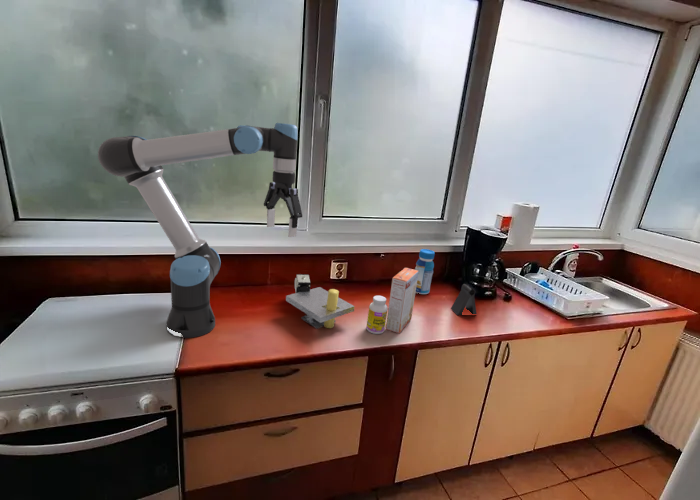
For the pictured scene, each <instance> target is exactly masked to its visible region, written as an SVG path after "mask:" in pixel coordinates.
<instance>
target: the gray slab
mask: <svg viewBox="0 0 700 500" xmlns="http://www.w3.org/2000/svg"><path fill="white" fill-rule="evenodd" d="M328 292H329V290H326V289H324V288H323V287H321V286H319V287H315V288H312V289H311V288H310V291H302V292H299V293H296V292H295V293H291V294H288V295H285V301H286V302H287V303H289V304H291V305H292V306H293V307H295V308H296V309H298V310H299V311H301V312H303V313H304V314H305V315H304V316H301V317H300V318H301V320H303V321H304V322H306V323H307V324H308V325H310V326H311V327H312V328H314V329H316V330H318V329H320V328H323V327H325V326H324V321H327V320H330V319H333V318H335V321H334V324H335V323H336V318H339V317H342V316H344V315H347V314H349V313H353V312H355V305H353V304H352V303H349V302H348V301H346V300H344V299H342V298H340V297H339V296H338V301H337V308H336V310H333V311H328V310H327V309H326V306H327V299H328Z"/></svg>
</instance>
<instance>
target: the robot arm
mask: <svg viewBox="0 0 700 500" xmlns="http://www.w3.org/2000/svg"><path fill="white" fill-rule="evenodd" d="M298 130H299V129H298V127H297V125H295V124H291V123H284V122H283V123H282V122H276V123H275V124H274V128H272V127H270V128H269V127H262V126H256V125H255V126H253V125H248V124H246V125H238V126H237V127H236V128H235V127H234V128H225V129H218V130H212V131H211V130H210V131H205V132H197V133H190V134H189V133H188V134H183V135H180V134H179V135H175V136H173V135H172V136H167V137H159V138H151V139H147V138H145V137H142V136H138V135H127V136H114V137H110V138H107V139H106V140H104V141H102V143H101V144H100V145H99V147H98V151H97V157H98V158H97V159H98V162H99V163H100V165H101V167H102V168H103V169H104V170H105V171H106V172H108V173H109V174H110V175H113V176H117V177H123V178H124V179H125V181H126V182H127V184H128V185H129V186H133V187H135V188H136V189H137V190H138V192H139V193H140V195H141V196H142V199H143V200H144V201H145V203H146V205H147V206H148V208H149V209H150V211H151V212H152V214H153V216H154V218H155V219H156V221H157V222H158V224H159V225H160V227H161V229H162V230H163V231H164V233H165V235H166V236H167V239H168V240H169V242H170V243H171V245H172V246H173V248H174V249H175V254H174V259H175V260H173V261H172V262H171V265H170V270H169V278H170V295H171V296H170V297H171V298H170V299H171V301H170V302H171V309H170V310H169V313H168V317H167V319H166V324H167V325H166V324H165V325H166V328H167V327H168V328H169V329H171V330H173V331H175V332H178V333H181V334H182V335H183V337H184V338H185V339H187V338H188V339H190V338H191V339H192V338H197V337H202V336H204V335H208V334H209V333H210V332H211V331H213V330H214V329H215V326H216V316H215V315H214V312H213V309H212V307H211V303H210V302H211V301H210V298H211V296H210V293H211V292H210V288H211V284H212V282H213V281H214V279H215V277H216V276H217V275H218V274H219V272H220V268H221V263H222V262H221V258H220V255H219V253H218V252H217V250H215V248H213V247H210V246H209V244H208V242H207V241H206V240H205V239H202V238H200V237H199V236H198V234H197V233H196V231H195V229H194V228H193V226H192V224H191V223H190V221H189V219H188V218H187V215H185V213H184V211H183V209H182V208H181V205H180V204H179V202H178V200H177V199H176V197H175V196H174V193H173V192H172V191H171V189H170V187H169V185H168V184H167V182H166V181H165V179H164V177H163V173H164V167H163V166H166V165H174V164H179V163H180V164H181V163H189V162H194V161H202V160H208V159H215V158H224V157H230V156H239V155H245V154H247V155H252V154H255V153H257V152H259V151H260V152H269V153H271V152H272V153H273V157H272V159H273V160H272V169H273V172H272V182H269V185H268V186H269V187H268V190H267V193H266V196H265V198H264V202H263V206H264V207H266V212H267V214H266V227H267V228H273V227H275V223H276V222H275V217H276V215H275V214H276V205H277V204H278V202H279V201H280V199H281V200H283V202H285V204H286V207H287V210H288V213H289V215H290V217H289V218H288V219H289V221H288V237H289V238H292V237H297V229H298V221H299V220H298V219H300V218H303V211H302V207H301V203H300V202H301V201H300V199H299V189H298V187H297V188H293V185H294V184H295V182H296V173H295V171H296V164H297V163H296V161H297V151H298Z"/></svg>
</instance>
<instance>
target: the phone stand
mask: <svg viewBox="0 0 700 500" xmlns="http://www.w3.org/2000/svg"><path fill="white" fill-rule="evenodd" d="M475 294H476V290H475V289H474V288H473V287H471V286H470V285H469V284H468V283H463V284H462V285H461V289H460V291H459V293H458V295H457V296H456V297H455V298H456V299H455V300H454V302H453V304H452V306H451V307H450V309H452V310H451V311H453V312H454V314H456V316H458V315H462V312H463V310H464V308H466V309H467V310H469V311H470V312H471V313H472V314H477V315H478V313H477V306H476V299H475Z"/></svg>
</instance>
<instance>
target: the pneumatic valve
mask: <svg viewBox="0 0 700 500" xmlns="http://www.w3.org/2000/svg"><path fill="white" fill-rule="evenodd" d="M294 289H295V293H299V292H302V291H310V289H311V279H310V275H309V274H305V273H304V274H303V273H302V274H301V273H298V274H297V273H296V277H295V278H294Z"/></svg>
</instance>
